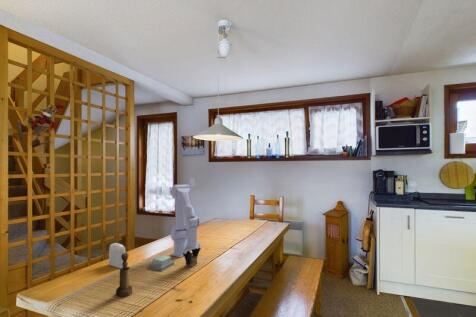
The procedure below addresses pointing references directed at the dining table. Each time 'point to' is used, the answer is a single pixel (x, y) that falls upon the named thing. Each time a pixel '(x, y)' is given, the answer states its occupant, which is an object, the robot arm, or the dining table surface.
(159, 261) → the tower top slab
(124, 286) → the mortar and pestle
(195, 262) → the walnut cube
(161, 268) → the tower base slab
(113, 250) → the photo printer
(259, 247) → the dining table surface
